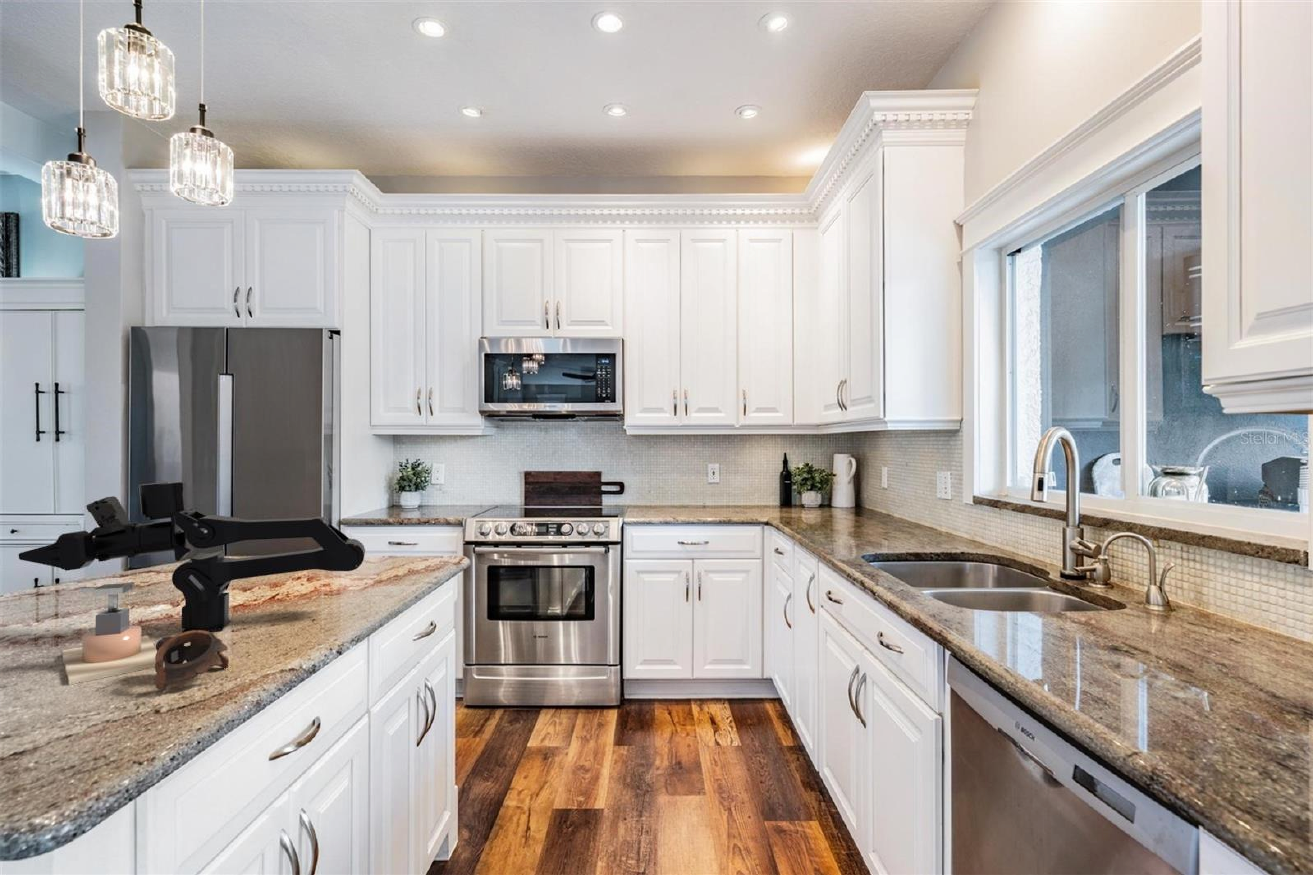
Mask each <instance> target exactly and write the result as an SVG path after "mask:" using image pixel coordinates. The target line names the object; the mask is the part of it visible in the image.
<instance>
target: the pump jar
mask: <svg viewBox="0 0 1313 875" xmlns="http://www.w3.org/2000/svg"><path fill="white" fill-rule="evenodd" d="M141 637H142V626H140V625H133V624H132V625H131V624H130V607H129V608H118V611H117V612H113V613H108V609H105V610H103V611H101V612H99V613H97V614H96V615H95V630H92V631H89V632H86V633H84V634H83V635H82V637H81V640H82V641H81V642H82V643H81V647H82V662H85V663H103V662H110V661H116V660H120V659H124V658H128V657H131V656H134V655H136V654H138V653H140V652H141Z"/></svg>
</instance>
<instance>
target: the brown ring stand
mask: <svg viewBox="0 0 1313 875" xmlns="http://www.w3.org/2000/svg"><path fill="white" fill-rule="evenodd" d="M185 644H189V645H185ZM155 647H156V650H157V653H156V657H155V660H156V663H155V667H154V670H155V673H156V675H155V679H154V680H155V681H154V685H155V688H156V689H157V690H159V691H161V692H165V690H167V687H169V686H173V685H176V684H180V683H183V682H186V681H189V680H194V679H196V678H197V677H198V676H199V675H203V674H205V673H206V672H207V671H209V670H210V669H212V668H214V667H216V666H217V667H219V668H222V669H224V668H225V669H226V668H228V669H229V662H230V661H229V660H230V659H229V658H228V657H227V656H226V655H225V654H223V652H225V651H228V645H226V644H224V642H223V641H222V639H220V638H218V637H217V636H216V634H214V633H213V632H211V631H203V630H197V631H196V630H193V631H188V632H184V633H182V632H181V633H178V634H176V635H174V636H170V635H169V636H168V635H167V636H164V637H162V638H161V639H159V640H158V641H157V643H156V644H155ZM185 661H186V662H185ZM164 662H165V665H163V663H164ZM225 669H224V670H225Z"/></svg>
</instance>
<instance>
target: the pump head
mask: <svg viewBox="0 0 1313 875" xmlns="http://www.w3.org/2000/svg"><path fill="white" fill-rule="evenodd" d="M133 585H134V583H133V582H124V583H120V582H119V583H110V584H109V583H107V584H102V585H101V586H90V587H89V586H87V587H80V588H78V589H77V590H78V591H77V592H78V593H92V596H93V597H95V596H97V597H98V596H107V610H108V613H113V612H117V611H118V609H119V595H123V594H126V593H127V592H129V591H131V590H133Z"/></svg>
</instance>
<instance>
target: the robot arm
mask: <svg viewBox="0 0 1313 875" xmlns="http://www.w3.org/2000/svg"><path fill="white" fill-rule="evenodd" d="M138 491H139V500H140V501H139V503H140V510H141V511H140V512H141V515H142V516H145V518H147V519H149V521H154V520H163V519H170V520H167V521H157V522H150V523H140V522H131V521H130V519H129V517H128V514H127V512H126V511H125V509H124V507H123V505H122V504H121V502H120V501H119V499H118V498H117V497H116V496H115V495H113V496H106V497H104V498H101V499H98V500H95V501H93V502H91V503H88V504H86V506H85V507H86V510H87V512H88V513H90V514H91V516H92V517H93V519H94V521H95V522H96V524H97V525H98V527H94V528H93V529H92V530H91V531H90V532H88V531H87V530H80V531H70V532H65V533H62V534H60V535H59V536H58V538H57V539H56V541H55V542H53V543H52V544H49V545H44V546H40V547H37V548H33V549H30V550H26V551H21V552H19V553H18V559H19V561H25V562H30V563H36V564H39V565H40V564H41V565H45V566H49V567H54V568H58V569H61V570H64V571H65V572H66V571H73V570H74V571H75V570H80V569H83V568H87V567H89V566H90V565H91V564H92V563H93V562H94V561H95V560H98V562H99V563H100V562H107V561H109V560H114V559H121V558H128V559H130V558H135V557H139V556H143V555H144V556H146V555H152V554H153V555H154V554H160V553H168V552H174V554H173V555H174V560H175V561H176V562H179V561H181V560H182V559H185V558H186V556H187V555H188V554H189V553H190V552H192V551H193V550H194V548H196V549H210V548H215V547H219V546H224V545H225V546H226V545H229V544H232V543H233V544H234V543H238V542H244V541H253V540H254V541H255V540H258V541H259V540H272V539H273V540H278V539H279V540H280V539H281V540H282V539H300V538H301V539H302V538H311V539H312V540H314V542H316V543H317V544H318V545H319V546H320V547H318V548H314V549H307V550H306V549H305V550H298V551H290V552H281V553H280V552H279V553H274V554H263V555H257V556H247V557H240V558H234V557H233V558H232V557H225V553H226V552H225V550H220V551H216V552H212V553H206V552H200V553H198V554H196V555H194V556H193V557H192V558H190V559H188V560H187V561H186V562H183V563H182V564H180V565H179V566H177V567H176V569H174V571H173V573H172V577H171V580H172V582H171V583H172V584H173V586H174V588H176V589H177V590H178V591H180V593H182V595H183V597H184V599H185V600H184V603H185V604H184V605H183V606H182V607H181V629H182V630H181V633H184V632H188V631H193V630H196V631H197V630H203V631H208V632H215V631H216V632H217V631H223V630H225V628H226V627H228V625H229V624H231V623H232V618H229V617H230V616H229V615H230V613H229V612H230V592H226V591H227V590H228V589H229V588H230V584H231V582H232V581H235V580H242V579H243V580H244V579H251V578H252V579H253V578H257V577H265V576H273V575H280V574H287V573H296V572H303V571H310V570H311V571H312V570H319V571H328V572H352V571H355V570H357V569H358V568H359V567H360V566H361V565H362V564H363V562H364V560H365V556H366V549H365V546H364V544H363V543H362V542H361V541H360V540H358V539H354V538H349V537H348V536H347V535H346V534H344V533H343V532H342V531H341V530H339V529H338V528H336V527H335V526H333V525H332V524H331V523H330V522H329V521H328V519H327V518H325V517H323V516H315V517H299V518H271V519H270V518H269V519H247V518H246V519H244V518H239V517H233V516H227V515H225V516H224V515H218V514H211V515H209V514H208V515H206V514H204V513H202V512H200V511H198V510H197V509H194V508H192V507H188V505H187V504H188V503H187V495H186V491H187V485H186V482H185V481H176V482H175V481H174V482H169V481H165V482H164V481H163V482H153V483H144V484H138ZM190 545H191V546H190Z"/></svg>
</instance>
